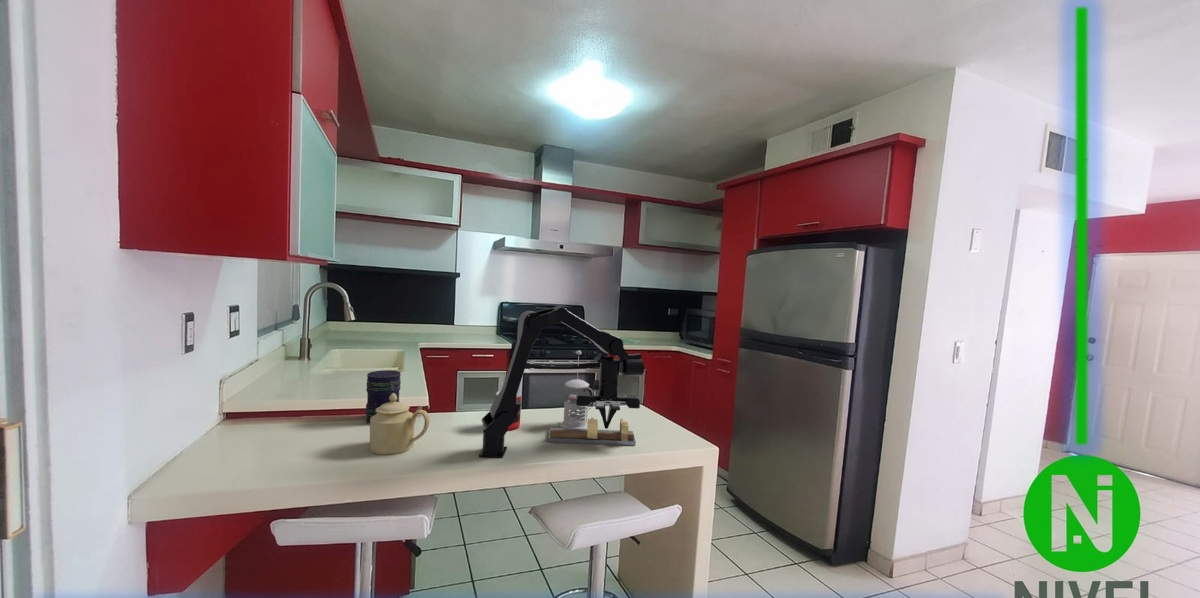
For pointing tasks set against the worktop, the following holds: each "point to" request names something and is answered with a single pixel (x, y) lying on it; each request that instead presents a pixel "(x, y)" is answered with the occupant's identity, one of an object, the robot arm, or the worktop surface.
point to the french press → (573, 419)
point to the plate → (590, 440)
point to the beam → (621, 435)
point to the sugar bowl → (394, 428)
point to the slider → (592, 428)
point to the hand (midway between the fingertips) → (606, 428)
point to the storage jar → (381, 390)
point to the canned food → (517, 422)
